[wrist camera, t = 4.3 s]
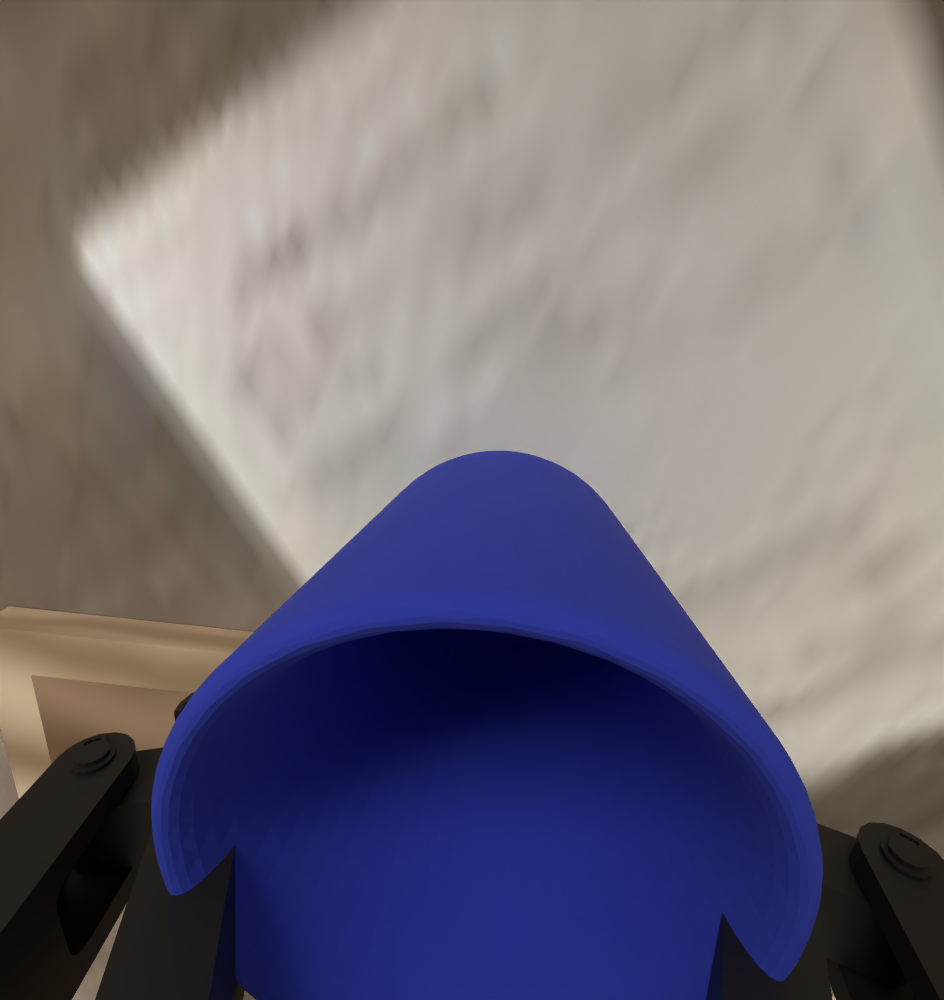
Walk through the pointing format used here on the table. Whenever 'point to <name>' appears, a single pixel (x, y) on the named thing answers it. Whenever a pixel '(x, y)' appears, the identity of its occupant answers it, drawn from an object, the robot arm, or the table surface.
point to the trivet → (95, 680)
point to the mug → (487, 767)
